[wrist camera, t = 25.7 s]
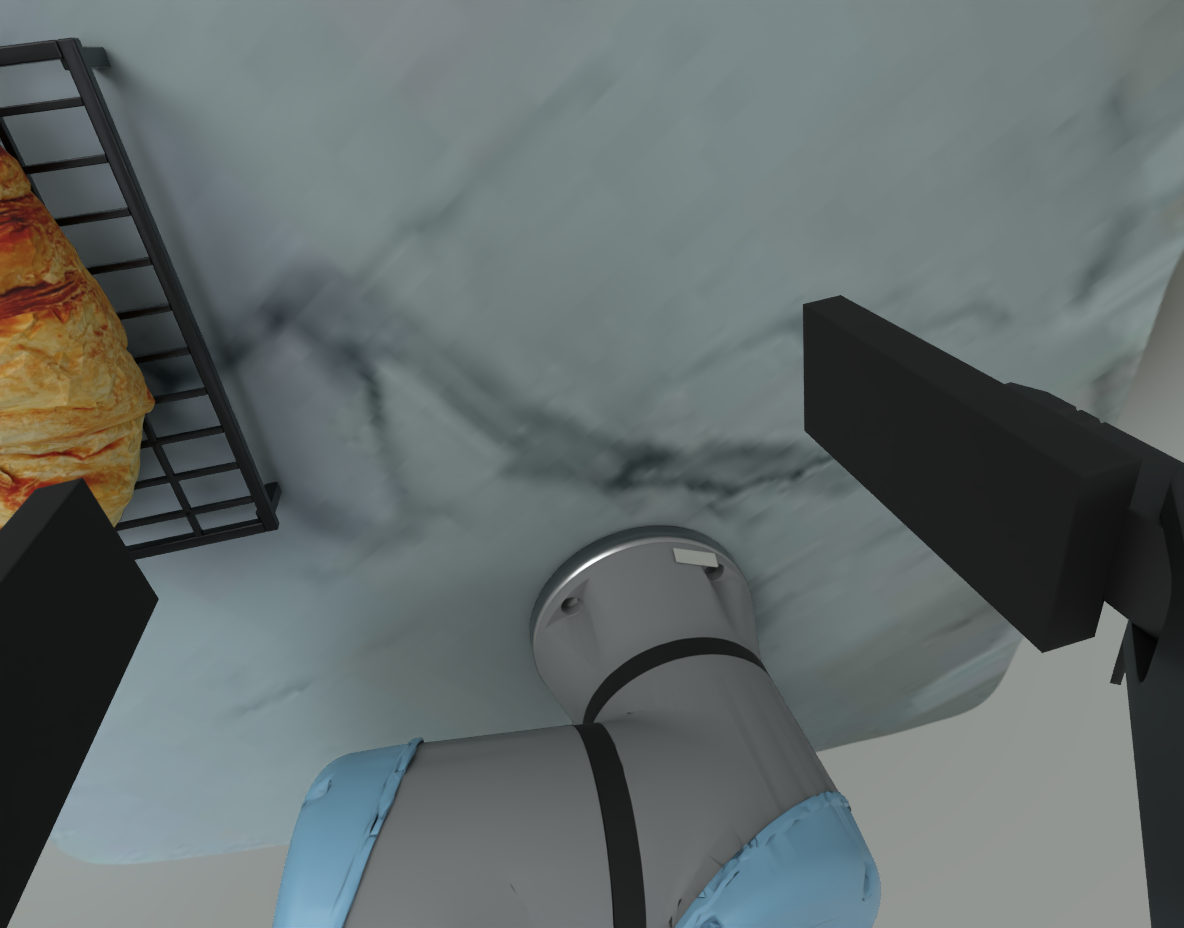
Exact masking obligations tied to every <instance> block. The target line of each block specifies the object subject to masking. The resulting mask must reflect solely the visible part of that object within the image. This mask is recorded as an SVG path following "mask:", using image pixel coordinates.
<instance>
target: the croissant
mask: <svg viewBox="0 0 1184 928" xmlns="http://www.w3.org/2000/svg"><path fill="white" fill-rule="evenodd" d="M30 189H31V184H30V182H29V180H28V178H27V177H26V175H25V173H24V172H23V170H22V168H21V166H20V164H19V163H18V161H17V160H16V159H15V158H14V157H12V156H11V155H10V154H9V153H8V152H7V151H6V150H5V149H4V148H3V147H2V146H1V145H0V529H1V528H2V527H3V526H4V525H5V524H6V523H7V521H8V520H9V519H10V518H11V517H12V516H13V514H14V513H15V512H16V511H17V510H18V509H19V508H20V506H21V505H22V504H23V503H24V502H25V501H26V499H27V498H28V497H29V496H30V495H31V494H32V493H33V491H34V490H35V489H37V488H41V487H45V486H50V485H54V484H58V483H62V482H66V481H70V480H75V479H79V478H83V479H84V480H85V482H86V483H87V485H88V487H89V488H90V490H91V491H92V493H93V495H94V496H95V498H96V499H97V501H98V503H99V504H100V506H101V507H102V509H103V511H104V512H105V514H106V515H107V517H108V519H109V520H110V522H111V523H112V525H113V527H115V526H116V525H117V523H118V522H119V520H120V519H121V517H122V514H123V511H124V508H125V507H126V506H127V505H128V503H129V502H130V500H131V499H132V496H133V492H134V485H135V483H136V481H137V479H138V475H139V469H140V445H141V440H142V431H143V421H144V417H145V413H149V412H151V411H152V409H153V408H154V404H155V400H154V398H153V396H152V394H151V393H150V391H149V389H148V387H147V385H146V384H145V382H144V377H143V375H142V372H141V370H140V368H139V367H138V366H137V364H136V362H135V360H134V359H133V357H132V355H131V354H130V353H129V352H128V351H127V350H126V348H127V345H128V342H127V335H126V332H125V330H124V328H123V326H122V323H121V321H120V319H119V317H118V316H117V314H116V312H115V310H114V309H113V307H112V305H111V303H110V301H109V299H108V298H107V296H106V294H105V293H104V291H103V290H102V288H101V287H100V285H99V283H98V282H97V281H96V279H95V278H94V277H93V276H92V275H91V274H90V272H89V271H88V270H87V269H86V268H85V266H84V265H83V264H82V262H81V260H80V258H79V256H78V254H77V252H76V250H75V248H74V246H73V245H72V244H71V243H70V241H69V240H68V239H67V237H66V236H65V235H64V233H63V232H62V230H61V229H60V227H59V226H58V224H57V223H56V222H55V220H54V219H53V217H52V216H51V214H50V213H49V211H48V210H47V209H46V207H45V206H44V204H43V203H42V202H41V201H40V200H39V199H38V198H37V197H36V196H35V195H34V194H33V193H32V192H31V191H30Z"/></svg>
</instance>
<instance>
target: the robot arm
mask: <svg viewBox="0 0 1184 928" xmlns="http://www.w3.org/2000/svg"><path fill="white" fill-rule="evenodd" d="M803 342H804V430H805V432H806V433H808V434H809V435H810V436H811V437H812V438H813V439H814V440H815V441H816V442H817V443H818V444H819V445H820V446H821V447H823V448H824V449H825V450H826V451H827V452H828V453H829V454H830V455H831V456H832V457H833V458H834V459H835V460H836V461H837V462H839V463H840V464H841V465H842V466H843V467H844V468H845V469H846V470H847V471H848V472H849V473H850V474H851V475H852V476H854V477H855V478H856V479H857V480H858V481H859V482H860V483H861V484H862V485H863V486H864V487H865V488H866V489H867V490H869V491H870V492H871V493H872V494H873V495H874V496H875V497H876V498H877V499H878V500H879V501H880V502H881V503H882V504H883V505H885V506H886V507H887V508H888V509H889V510H890V511H891V512H892V513H893V514H894V515H895V516H896V517H897V518H898V519H900V520H901V521H902V522H903V523H904V524H905V525H906V526H907V527H908V528H909V529H910V530H911V531H912V532H913V533H915V534H916V535H917V536H918V537H919V538H920V539H921V540H922V541H923V542H924V543H925V544H926V545H927V546H928V547H929V548H931V549H932V550H933V551H934V552H935V553H936V554H937V555H938V556H939V557H940V558H941V559H942V560H943V561H944V562H946V563H947V564H948V565H949V566H950V567H951V568H952V569H953V570H954V571H955V572H956V573H957V574H958V575H959V576H961V577H962V578H963V579H964V580H965V581H966V582H967V583H968V584H969V585H970V586H971V587H972V588H973V589H974V590H975V591H977V592H978V593H979V594H980V595H981V596H982V597H983V598H984V599H985V600H986V601H987V602H988V603H989V604H990V605H992V606H993V607H994V608H995V609H996V610H997V611H998V612H999V613H1000V614H1001V615H1002V616H1003V617H1004V618H1005V619H1007V620H1008V621H1009V622H1010V623H1011V624H1012V625H1013V626H1014V627H1015V628H1016V629H1017V630H1018V631H1019V632H1020V633H1022V634H1023V635H1024V636H1025V637H1026V638H1027V639H1028V640H1029V641H1030V642H1031V643H1032V644H1033V645H1034V646H1035V647H1037V648H1038V649H1039V650H1040V651H1041V652H1042V653H1044V652H1047V651H1050V650H1053V649H1057V648H1060V647H1063V646H1066V645H1070V644H1073V643H1076V642H1079V641H1083V640H1086V639H1089V638H1092V637H1095V633H1096V629H1097V625H1098V622H1099V618H1100V614H1101V611H1102V607H1103V603H1104V601H1106V602H1107V603H1108V604H1109V605H1110V606H1112V607H1113V608H1114V609H1116V610H1117V611H1118V612H1120V613H1121V614H1122V615H1123V616H1125V617H1126V618H1127V619H1129V620H1128V624H1127V627H1126V630H1125V634H1124V637H1123V640H1122V644H1121V647H1120V650H1119V654H1118V657H1117V660H1116V664H1115V667H1114V670H1113V674H1112V678H1111V681H1110V683H1113V684H1118V685H1121V682H1122V678H1123V676H1124V673H1126V680H1127V690H1128V700H1129V709H1130V720H1131V729H1132V740H1133V749H1134V760H1135V769H1136V779H1137V789H1138V799H1139V809H1140V819H1141V829H1142V838H1143V848H1144V857H1145V868H1146V878H1147V887H1148V898H1149V908H1150V917H1151V928H1184V463H1183V462H1181V461H1179V460H1177V459H1175V458H1173V457H1171V456H1169V455H1167V454H1166V453H1164V452H1162V451H1160V450H1158V449H1156V448H1154V447H1152V446H1150V445H1148V444H1146V443H1144V442H1142V441H1141V440H1139V439H1137V438H1135V437H1133V436H1131V435H1129V434H1127V433H1125V432H1123V431H1121V430H1119V429H1117V428H1115V427H1114V426H1112V425H1110V424H1108V423H1106V422H1105V423H1100V421H1099V419H1098V418H1096V417H1094V416H1092V415H1090V414H1089V413H1087V412H1085V411H1083V410H1079V411H1077V410H1076V407H1075V406H1073V405H1071V404H1069V403H1067V402H1065V401H1064V400H1062V399H1060V398H1058V397H1056V396H1054V395H1052V394H1050V393H1048V392H1045V391H1041V390H1038V389H1034V388H1030V387H1026V386H1023V385H1019V384H1015V383H1011V382H1010V383H1007V384H1003V383H1001V382H999V381H997V380H996V379H994V378H992V377H990V376H988V375H986V374H985V373H983V372H981V371H979V370H977V369H975V368H974V367H972V366H970V365H968V364H966V363H964V362H962V361H961V360H959V359H957V358H955V357H953V356H951V355H950V354H948V353H946V352H944V351H942V350H940V349H939V348H937V347H935V346H933V345H931V344H929V343H928V342H926V341H924V340H922V339H920V338H918V337H916V336H915V335H913V334H911V333H909V332H907V331H905V330H904V329H902V328H900V327H898V326H896V325H894V324H893V323H891V322H889V321H887V320H885V319H883V318H882V317H880V316H878V315H876V314H874V313H872V312H870V311H869V310H867V309H865V308H863V307H861V306H859V305H858V304H856V303H854V302H852V301H850V300H848V299H847V298H845V297H843V296H841V295H839V296H835V297H831V298H827V299H823V300H819V301H815V302H810V303H806V304H803ZM157 602H158V597H157V595H156V594H155V592H154V591H153V589H152V587H151V586H150V584H149V583H148V581H147V579H146V578H145V576H144V575H143V573H142V571H141V570H140V568H139V567H138V565H137V563H136V562H135V560H134V559H133V557H132V555H131V554H130V552H129V551H128V549H127V547H126V546H125V544H124V543H123V541H122V539H121V538H120V536H119V535H118V533H117V531H116V530H115V528H114V527H113V525H112V523H111V522H110V520H109V519H108V517H107V515H106V514H105V512H104V511H103V509H102V507H101V506H100V504H99V503H98V501H97V499H96V498H95V496H94V495H93V493H92V491H91V490H90V488H89V487H88V485H87V483H86V482H85V480H84V479H83V478H79V479H75V480H70V481H66V482H62V483H58V484H54V485H50V486H45V487H41V488H37V489H35V490H34V491H33V493H32V494H31V495H30V496H29V497H28V498H27V499H26V501H25V502H24V503H23V504H22V505H21V506H20V508H19V509H18V510H17V511H16V512H15V513H14V514H13V516H12V517H11V518H10V519H9V520H8V521H7V523H6V524H5V525H4V526H3V527H2V528H1V529H0V928H7V926H8V924H9V921H10V919H11V917H12V915H13V913H14V911H15V908H16V906H17V904H18V902H19V900H20V898H21V896H22V893H23V891H24V889H25V887H26V885H27V882H28V880H29V878H30V876H31V874H32V872H33V870H34V867H35V865H36V863H37V861H38V859H39V856H40V854H41V852H42V850H43V848H44V846H45V844H46V842H47V839H48V837H49V835H50V833H51V831H52V829H53V826H54V824H55V822H56V820H57V818H58V816H59V813H60V811H61V809H62V807H63V805H64V803H65V800H66V798H67V796H68V794H69V792H70V790H71V788H72V785H73V783H74V781H75V779H76V777H77V775H78V772H79V770H80V768H81V766H82V764H83V762H84V759H85V757H86V755H87V753H88V751H89V749H90V746H91V744H92V742H93V740H94V738H95V736H96V733H97V731H98V729H99V727H100V725H101V723H102V721H103V718H104V716H105V714H106V712H107V710H108V708H109V705H110V703H111V701H112V699H113V697H114V695H115V692H116V690H117V688H118V686H119V684H120V682H121V679H122V677H123V675H124V673H125V671H126V669H127V666H128V664H129V662H130V660H131V658H132V656H133V654H134V651H135V649H136V647H137V645H138V643H139V641H140V638H141V636H142V634H143V632H144V630H145V628H146V625H147V623H148V621H149V619H150V617H151V615H152V612H153V610H154V608H155V606H156V604H157ZM530 638H531V645H532V650H533V654H534V659H535V663H536V667H537V670H538V672H539V675H540V677H541V679H542V680H543V682H544V683H545V685H546V686H547V688H548V689H549V690H550V692H551V693H552V694H553V696H554V697H555V699H556V700H557V701H558V703H559V704H560V705H561V707H562V708H563V709H564V711H565V712H566V713H567V715H568V716H569V717H570V719H571V720H572V722H573V723H574V724H575V725H565V726H557V727H549V728H541V729H533V730H524V731H516V732H508V733H500V734H492V735H484V736H476V737H467V738H459V739H451V740H443V741H434V742H425V743H424V740H423V738H415V739H412V740H411V741H410V742H409V743H408V744H402V745H396V746H391V747H385V748H379V749H373V750H367V751H361V752H355V753H351V754H347V755H344V756H342V757H340V758H338V759H336V760H334V761H333V762H331V763H330V764H329V765H327V766H326V767H325V768H324V769H323V770H322V771H321V773H320V774H319V775H318V776H317V778H316V779H315V781H314V782H313V784H312V786H311V787H310V789H309V791H308V793H307V795H306V798H305V800H304V802H303V805H302V807H301V810H300V813H299V816H298V819H297V822H296V825H295V828H294V832H293V835H292V839H291V842H290V846H289V850H288V854H287V858H286V862H285V866H284V871H283V875H282V880H281V884H280V889H279V894H278V899H277V904H276V910H275V916H274V921H273V927H272V928H872V926H873V924H874V921H875V919H876V917H877V913H878V910H879V906H880V899H881V885H880V884H881V883H880V877H879V873H878V869H877V866H876V864H875V862H874V859H873V857H872V855H871V853H870V851H869V849H868V847H867V845H866V843H865V841H864V838H863V837H862V835H861V832H860V830H859V828H858V826H857V824H856V822H855V820H854V818H853V816H852V814H851V808H850V806H849V803H848V801H847V799H846V798H845V797H844V796H843V795H841V794H840V792H838V790H837V789H836V787H835V785H834V784H833V782H832V780H831V778H830V777H829V775H828V773H827V772H826V770H825V768H824V766H823V765H822V763H821V761H820V760H819V758H818V756H817V755H816V753H815V751H814V750H813V748H812V746H811V745H810V743H809V741H808V740H807V738H806V736H805V734H804V733H803V731H802V729H801V728H800V726H799V724H798V723H797V721H796V719H795V718H794V716H793V714H792V713H791V711H790V709H789V707H788V706H787V704H786V702H785V701H784V699H783V697H782V696H781V694H780V692H779V691H778V689H777V687H776V686H775V684H774V682H773V680H772V679H771V677H770V676H769V674H768V672H767V671H766V669H765V667H764V665H763V664H762V662H761V659H760V652H759V645H758V638H757V632H756V625H755V618H754V611H753V604H752V598H751V593H750V590H749V587H748V584H747V582H746V580H745V578H744V576H743V575H742V573H741V572H740V570H739V568H738V567H737V565H736V564H735V562H734V561H733V559H732V558H731V556H730V555H729V554H728V553H727V552H726V551H725V549H724V548H722V547H721V546H720V545H719V544H718V543H716V542H715V541H713V540H712V539H710V538H708V537H706V536H704V535H703V534H700V533H697V532H695V531H692V530H688V529H684V528H679V527H671V526H648V527H639V528H634V529H629V530H625V531H621V532H618V533H615V534H612V535H609V536H607V537H604V538H602V539H600V540H598V541H596V542H594V543H592V544H590V545H588V546H587V547H585V548H583V549H582V550H580V551H579V552H577V553H576V554H575V555H573V556H572V557H571V558H569V559H568V560H567V561H566V562H565V563H564V564H563V565H562V566H560V567H559V568H558V570H557V571H556V572H555V573H554V574H553V575H552V576H551V578H550V579H549V580H548V582H547V583H546V584H545V586H544V588H543V589H542V591H541V592H540V594H539V597H538V599H537V601H536V603H535V606H534V609H533V612H532V617H531V623H530Z"/></svg>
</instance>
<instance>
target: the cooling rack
mask: <svg viewBox="0 0 1184 928" xmlns="http://www.w3.org/2000/svg"><path fill="white" fill-rule="evenodd" d="M54 60H61V62H62V64H63V67H64V69H65V70H69V71H70V73H71V75H72V78H73V80H74V82H75V85H76V87H77V89H78V92H79V94H80V96H81V97H75V98H68V99H60V100H53V101H45V102H38V103H30V104H23V105H15V106H8V107H0V139H1V141H2V143H3V145H4V147H5V149H6V151H7V152H8V153H9V154H10V155H11V156H12V157H14V158H15V159H16V160H17V161H18V163H19V164H20V166H21V168H22V170H23V172H24V173H25V175H26V177H27V178H28V180H29V182H30V184H31V189H30V191H31V192H32V193H33V194H34V195H35V196H36V197H37V198H38V199H39V200H40V201H41V202H42V203H43V204H44V202H43V200H42V198H41V196H40V194H39V192H38V190H37V188H36V186H35V184H34V181H33V179H32V177H31V175H30V174H34V173H41V172H48V171H55V170H62V169H68V168H75V167H82V166H89V165H96V164H103V163H108V162H109V164H110V167H111V169H112V171H113V174H114V176H115V178H116V181H117V183H118V185H119V188H120V190H121V192H122V195H123V197H124V199H125V202H126V204H127V206H128V207H126V208H119V209H113V210H106V211H100V212H93V213H87V214H80V215H74V216H67V217H60V218H54V220H55V222H56V223H57V224H58V226H59V227H61V226H67V225H74V224H80V223H87V222H93V221H100V220H106V219H112V218H119V217H125V216H132V218H133V220H134V223H135V225H136V227H137V230H138V232H139V234H140V237H141V239H142V241H143V244H144V246H145V248H146V251H147V253H148V255H149V257H144V258H138V259H132V260H126V261H120V262H114V263H107V264H101V265H95V266H89V267H85V268H86V269H87V270H88V271H89V272H90V274H91V275H94V274H100V273H106V272H112V271H118V270H124V269H130V268H137V267H143V266H149V265H153V267H154V269H155V272H156V274H157V276H158V279H159V281H160V283H161V286H162V288H163V290H164V293H165V295H166V297H167V300H168V302H169V303H166V304H160V305H155V306H149V307H143V308H137V309H131V310H125V311H119V312H116V314H117V316H118V317H119V319H120V320H123V319H128V318H134V317H140V316H146V315H152V314H158V313H163V312H169V311H172V312H173V314H174V316H175V319H176V321H177V323H178V326H179V328H180V330H181V333H182V335H183V337H184V340H185V342H186V344H187V347H181V348H176V349H170V350H165V351H159V352H153V353H148V354H142V355H137V356H132V357H133V359H134V360H135V362H136V364H139V363H144V362H150V361H155V360H161V359H166V358H172V357H177V356H183V355H189V354H191V356H192V358H193V361H194V363H195V365H196V368H197V370H198V372H199V375H200V377H201V379H202V382H203V384H204V386H205V387H203V388H197V389H192V390H187V391H181V392H176V393H170V394H165V395H160V396H154V397H153V398H154V400H155V404H161V403H166V402H171V401H177V400H182V399H187V398H193V397H198V396H203V395H207V394H208V396H209V398H210V400H211V403H212V405H213V407H214V410H215V412H216V414H217V417H218V419H219V421H220V424H221V426H215V427H210V428H205V429H200V430H195V431H189V432H184V433H179V434H174V435H169V436H164V437H158V438H157V436H156V434H155V432H154V429H153V427H152V425H151V423H150V421H149V419H148V417H147V415H146V413H145V417H144V421H143V429H144V431H145V434H146V436H147V438H148V440H143V441H141V445H140V449H143V448H148V447H152V448H153V450H154V452H155V454H156V456H157V458H158V460H159V462H160V464H161V466H162V468H163V470H164V472H165V474H166V476H161V477H156V478H151V479H146V480H141V481H136V483H135V485H134V490H136V489H141V488H146V487H151V486H156V485H160V484H165V483H170V484H171V486H172V488H173V490H174V492H175V494H176V497H177V499H178V501H179V503H180V505H181V507H182V509H183V510H178V511H173V512H168V513H163V514H158V515H154V516H149V517H144V518H139V519H134V520H129V521H125V522H120V523H117V525H116V526H115V527H114V528H115V530H116V531H119V530H124V529H129V528H133V527H138V526H143V525H148V524H153V523H157V522H162V521H167V520H172V519H177V518H182V517H187V519H188V521H189V523H190V525H191V527H192V529H193V531H194V532H192V533H187V534H182V535H178V536H173V537H168V538H163V539H159V540H154V541H149V542H144V543H140V544H135V545H130V546H126V547H127V549H128V551H129V552H130V554H131V555H132V557H133V559H134V560H137V559H142V558H146V557H151V556H156V555H160V554H165V553H170V552H174V551H179V550H184V549H188V548H193V547H198V546H202V545H207V544H212V543H217V542H221V541H226V540H231V539H235V538H240V537H245V536H249V535H254V534H259V533H263V532H266V531H267V532H268V531H273V530H277V529H278V527H279V521H278V518H277V516H276V514H275V512H276V509H277V505H278V502H279V498H280V495H281V490H280V487H279V485H278V483H277V482H274V483H270V484H265V486H264V485H263V482H262V480H261V477H260V475H259V472H258V470H257V468H256V465H255V463H254V460H253V458H252V455H251V453H250V451H249V448H248V446H247V443H246V441H245V439H244V436H243V434H242V431H241V429H240V426H239V424H238V422H237V419H236V417H235V414H234V412H233V410H232V407H231V405H230V402H229V400H228V397H227V395H226V393H225V390H224V388H223V385H222V383H221V381H220V378H219V376H218V373H217V371H216V368H215V366H214V364H213V361H212V359H211V356H210V354H209V351H208V349H207V347H206V344H205V342H204V339H203V337H202V335H201V332H200V330H199V327H198V325H197V322H196V320H195V318H194V315H193V313H192V310H191V308H190V306H189V303H188V301H187V298H186V296H185V293H184V291H183V289H182V286H181V284H180V281H179V279H178V277H177V274H176V272H175V269H174V267H173V264H172V262H171V260H170V257H169V255H168V252H167V250H166V247H165V245H164V243H163V240H162V238H161V235H160V233H159V231H158V228H157V226H156V223H155V221H154V218H153V216H152V214H151V211H150V209H149V206H148V204H147V202H146V199H145V197H144V194H143V192H142V189H141V187H140V185H139V182H138V180H137V177H136V175H135V173H134V170H133V168H132V165H131V163H130V160H129V158H128V156H127V153H126V151H125V148H124V146H123V143H122V141H121V139H120V136H119V134H118V131H117V129H116V127H115V124H114V122H113V119H112V117H111V114H110V112H109V110H108V107H107V105H106V102H105V100H104V98H103V95H102V93H101V90H100V88H99V85H98V83H97V81H96V78H95V76H94V73H93V71H92V69H98V68H106V67H111V65H110V63H109V60H108V58H107V55H106V53H105V50H104V48H103V47H82V44H81V42H80V40H79V39H78V38H65V39H58V40H49V41H41V42H33V43H24V44H16V45H8V46H0V67H6V66H14V65H22V64H30V63H38V62H46V61H54ZM79 106H85V108H86V110H87V113H88V115H89V118H90V120H91V122H92V125H93V127H94V129H95V132H96V134H97V136H98V139H99V141H100V143H101V146H102V148H103V150H104V153H105V154H102V155H95V156H88V157H81V158H74V159H67V160H60V161H53V162H46V163H39V164H32V165H25V163H24V161H23V159H22V157H21V155H20V153H19V150H18V148H17V146H16V144H15V142H14V140H13V138H12V136H11V134H10V132H9V130H8V128H7V126H6V124H5V122H4V120H3V117H5V116H12V115H19V114H27V113H34V112H42V111H49V110H56V109H64V108H71V107H79ZM44 206H45V204H44ZM45 207H46V206H45ZM46 209H47V208H46ZM155 404H154V405H155ZM220 433H225V435H226V438H227V440H228V442H229V445H230V447H231V449H232V452H233V454H234V456H235V459H236V462H231V463H226V464H221V465H216V466H211V467H206V468H201V469H196V470H191V471H186V472H181V473H176V474H175V473H174V471H173V469H172V467H171V465H170V463H169V460H168V458H167V456H166V454H165V452H164V450H163V448H162V446H161V445H164V444H169V443H174V442H179V441H184V440H189V439H194V438H200V437H205V436H210V435H215V434H220ZM239 468H240V470H241V473H242V475H243V477H244V480H245V482H246V484H247V487H248V489H249V491H250V494H251V495H250V496H246V497H241V498H236V499H231V500H226V501H221V502H217V503H212V504H207V505H202V506H197V507H192V508H191V506H190V504H189V502H188V500H187V498H186V496H185V493H184V491H183V489H182V487H181V485H180V483H179V481H180V480H185V479H190V478H195V477H200V476H205V475H210V474H215V473H220V472H225V471H230V470H235V469H239ZM253 502H254V503H255V506H256V508H257V510H256V515H257V517H258V519H253V520H249V521H244V522H239V523H234V524H230V525H225V526H220V527H215V528H211V529H206V530H202V529H201V527H200V524H199V522H198V520H197V518H196V516H195V515H196V514H201V513H206V512H210V511H215V510H220V509H225V508H230V507H234V506H239V505H244V504H249V503H253Z"/></svg>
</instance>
